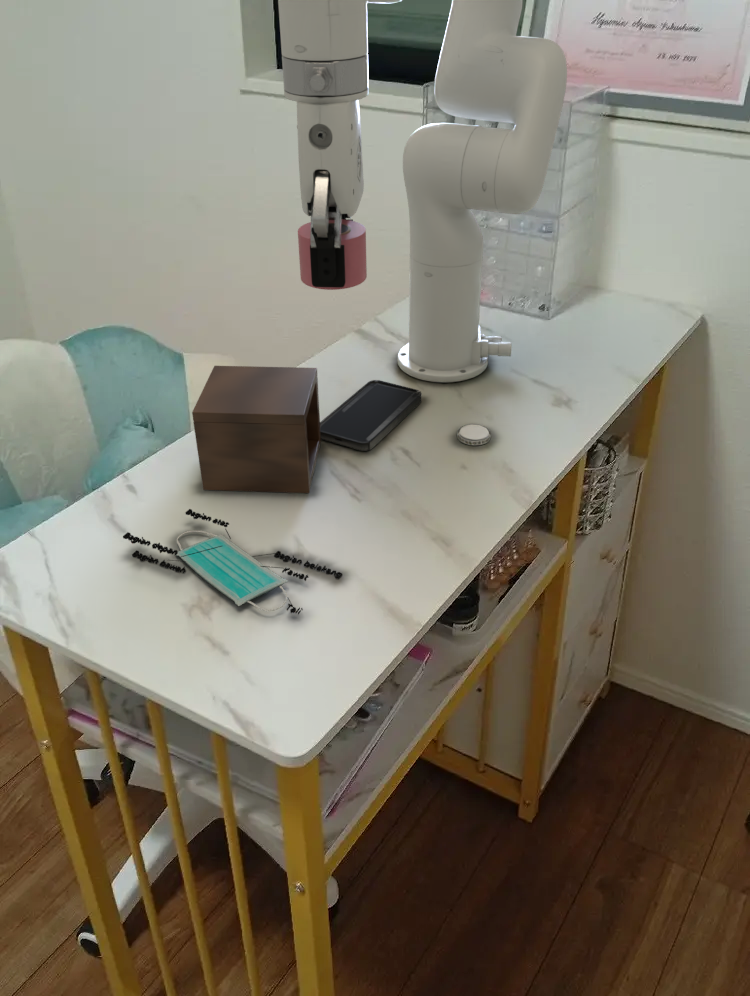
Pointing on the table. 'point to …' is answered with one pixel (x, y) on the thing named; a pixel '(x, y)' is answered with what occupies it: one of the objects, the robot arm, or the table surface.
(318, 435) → the desk shelf
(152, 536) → the table surface
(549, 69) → the robot arm
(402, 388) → the phone
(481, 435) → the white bottle cap
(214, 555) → the surgical mask
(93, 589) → the table surface
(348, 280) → the tape roll
